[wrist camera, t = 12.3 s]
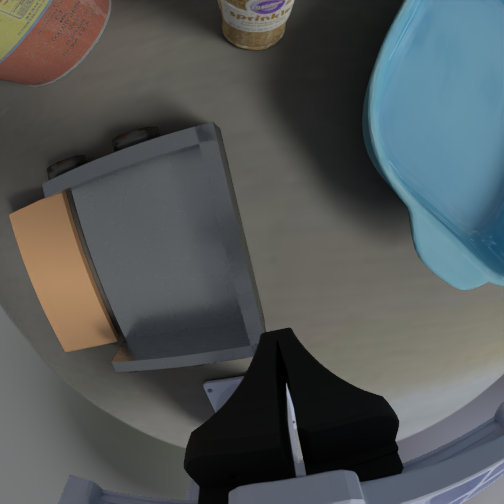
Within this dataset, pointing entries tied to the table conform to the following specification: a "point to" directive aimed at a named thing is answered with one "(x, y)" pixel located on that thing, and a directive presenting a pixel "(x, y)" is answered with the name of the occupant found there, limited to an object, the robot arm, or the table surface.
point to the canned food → (48, 37)
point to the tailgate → (62, 274)
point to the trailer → (167, 247)
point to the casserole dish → (444, 132)
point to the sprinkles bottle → (254, 22)
